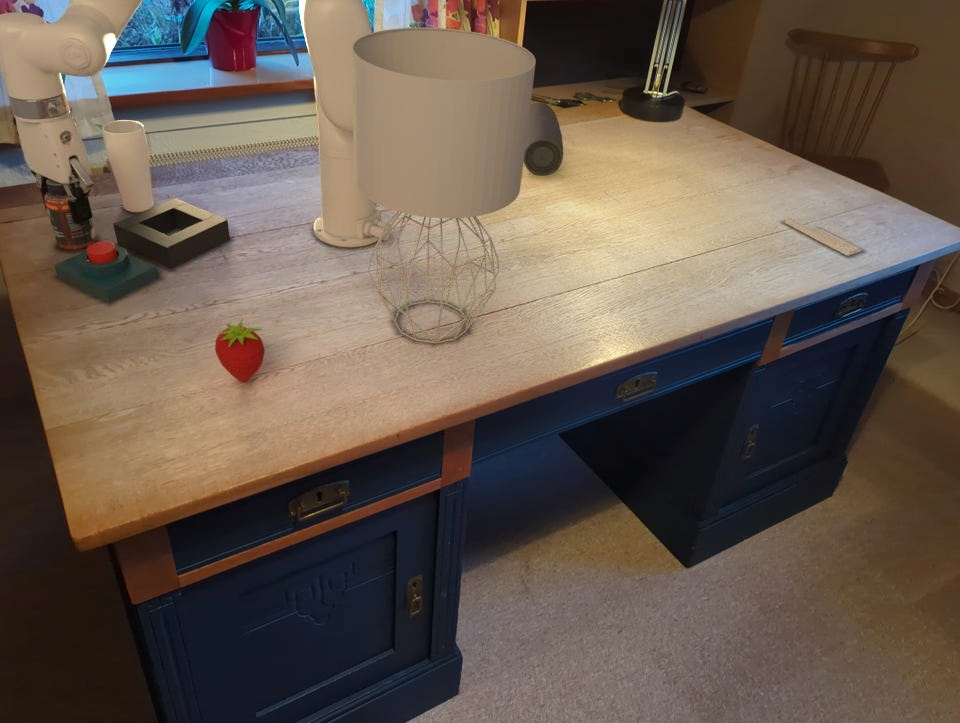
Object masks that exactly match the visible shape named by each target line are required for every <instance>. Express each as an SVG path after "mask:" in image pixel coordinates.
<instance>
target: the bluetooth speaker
mask: <svg viewBox="0 0 960 723" xmlns="http://www.w3.org/2000/svg"><path fill="white" fill-rule="evenodd" d="M563 144H564V143H563V135H562V130H561V127H560V123H559V120H558V116H557V114H556V112H555V111H554V109H553V108H552V107H551V106H550V105H549V104H546V103H543V102H534V103H531V104H530V113H529V121H528V129H527V137H526V145H525V154H524V162H523V165H524V166H525V168H526V169H527V171H528V172H530V173H531V174H532V175H534V176H539V177H548V176H551V175H553V174H554V173H556V172H557V171H558V170H559V169H560V168H561V166H562V163H563V158H564V145H563Z"/></svg>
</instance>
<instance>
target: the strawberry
mask: <svg viewBox="0 0 960 723" xmlns="http://www.w3.org/2000/svg"><path fill="white" fill-rule="evenodd" d="M243 320H244V318H243V317H242V318H241V320H240V322H239V323H238V325H236V326H235V325H232V324H229V323H226V324H225V325H226V326H227V328H225V329H223V330H222V331H219V332H218V335H217V336H216V339H215V346H214V351H215V355H216V356H217V358H218V360H219V363H220V364H221V366H222V367H223V368H224V369H225V370H226V372H228V373H229V374H230V375H231V376H232V377H234V378H235V379H236V380H237V381H238V382H239V383H241V384H245V383H247V382H248V381H249V380H250V379H251V378H252V377H253V376H255V374H256V373H257V372H258V370H259V369H260V368H261V367H262V365H263V360H264V356H265V346H264V343H263V340H262V338H261V336H260V335H259V334H258V333H257V331H261V330H262V328H256V327H245V326H244V325H243Z"/></svg>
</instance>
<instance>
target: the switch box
mask: <svg viewBox="0 0 960 723" xmlns="http://www.w3.org/2000/svg"><path fill="white" fill-rule="evenodd" d="M114 245H115V244H114ZM115 248H116V252H117V258H116V259H115V260H112V261H110V262H106V263H92V262H90V261H89V258H88V254H87V248H85V249H84V250H82V251H81V252H80V253H79V254H76V255H73V256H72V257H69V258H67V259H65V260H62V261H60V262H58V263H56V264H53V266H54V269H55V272H56V277H57V278H59V279H61V280H63V281H65V282H67V283H69V284H71V285H73V286H75V287H77V288H79V289H80V290H82V291H85V292H87V293H89V294H91V295H93V296H95V297H97V298H98V299H101V300H103V301H105V302H106V303H108V304H111V303H112V302H114V301H116V300H118V299H119V298H122V297H124V296H126V295H128V294H130V293H132V292H134V291H136V290H138V289H140V288H142V287H144V286H146V285H148V284H150V283H152V282H154V281H156V280H158V279H159V276H158V272H157V267H156V266H155V265H152V264H151V263H148V262H146V261H144V260H142V259H140V258H137V257H136V256H134V255H131V254H130V253H128V252H127V249H126V248H124V247H121V246H119V245H118V244H116V245H115Z"/></svg>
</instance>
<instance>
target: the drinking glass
mask: <svg viewBox="0 0 960 723" xmlns="http://www.w3.org/2000/svg"><path fill="white" fill-rule="evenodd" d="M101 133H102V140H103V144H104V148H105V153H106V156H107V159H108V162H109V165H110V168H111V171H112V174H113V178H114V180H115V183H116V187H117V190H118V193H119V197H120V200H121V205H122V207H123V209H124V210H126V211H127V212H130V213H140V212H143V211H145V210H148V209H150V208H153V207H155V206H154V205H155V200H154V194H153V186H152V184H153V183H152V175H151V165H150V153H149V146H148V140H147V136H146V131H145V127H144V125H143V124H142V123H141V122H139V121H137V120H130V119H119V120H113V121H109V122H107V123H104V124H103V125H102V126H101Z"/></svg>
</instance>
